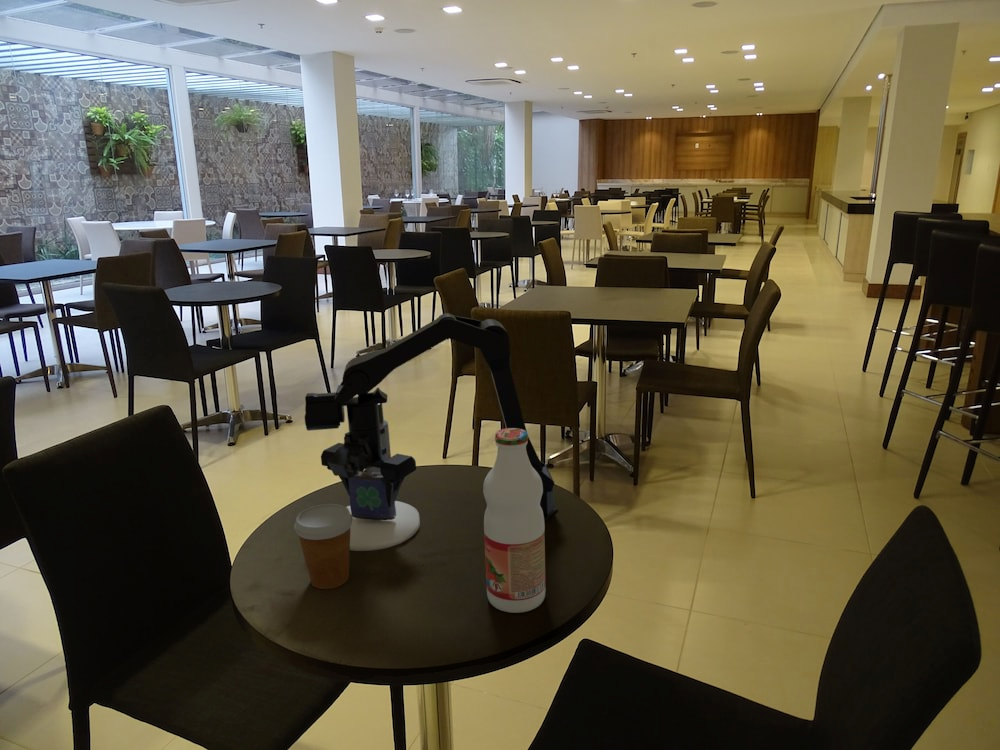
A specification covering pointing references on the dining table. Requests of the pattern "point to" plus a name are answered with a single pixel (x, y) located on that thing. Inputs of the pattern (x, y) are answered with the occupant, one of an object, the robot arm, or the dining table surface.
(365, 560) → the dining table surface
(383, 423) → the lotion bottle
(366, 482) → the flask
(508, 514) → the fruit juice
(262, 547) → the dining table surface
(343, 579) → the disposable coffee cup
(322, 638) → the dining table surface
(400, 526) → the plate
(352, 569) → the dining table surface
